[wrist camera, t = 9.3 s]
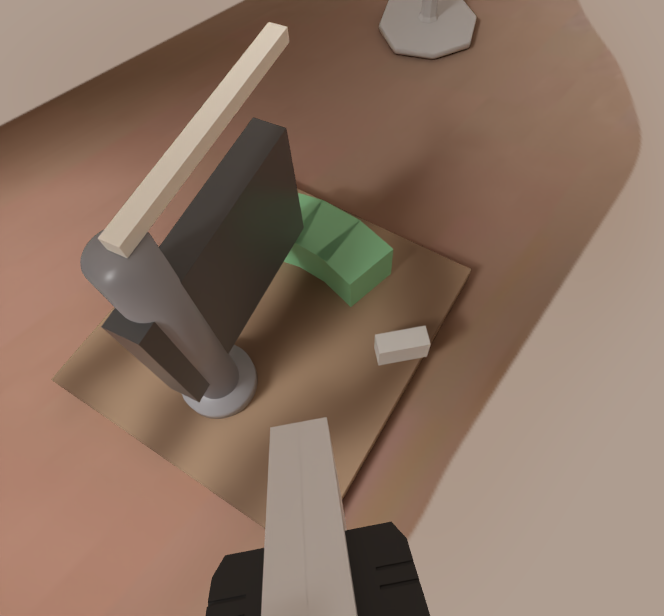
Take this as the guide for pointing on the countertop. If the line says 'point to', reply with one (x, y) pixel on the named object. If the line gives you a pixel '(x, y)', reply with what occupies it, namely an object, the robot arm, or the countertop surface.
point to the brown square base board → (280, 374)
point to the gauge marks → (352, 268)
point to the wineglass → (427, 27)
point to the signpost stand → (203, 247)
